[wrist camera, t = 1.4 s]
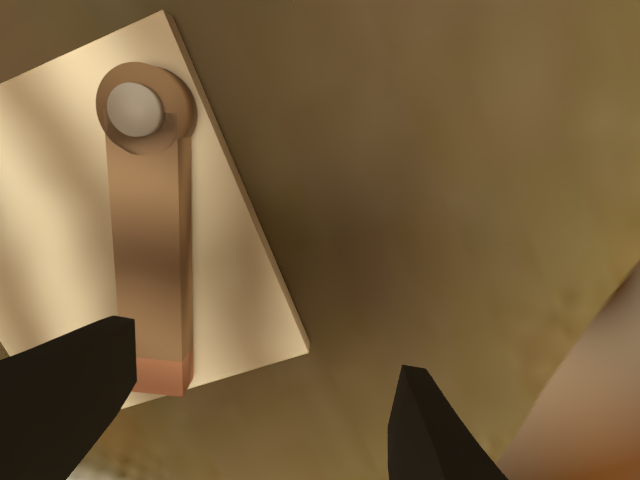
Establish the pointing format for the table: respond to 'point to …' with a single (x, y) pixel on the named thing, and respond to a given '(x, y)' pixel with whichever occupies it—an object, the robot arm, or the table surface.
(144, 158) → the link
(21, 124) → the latch board
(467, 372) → the table surface
